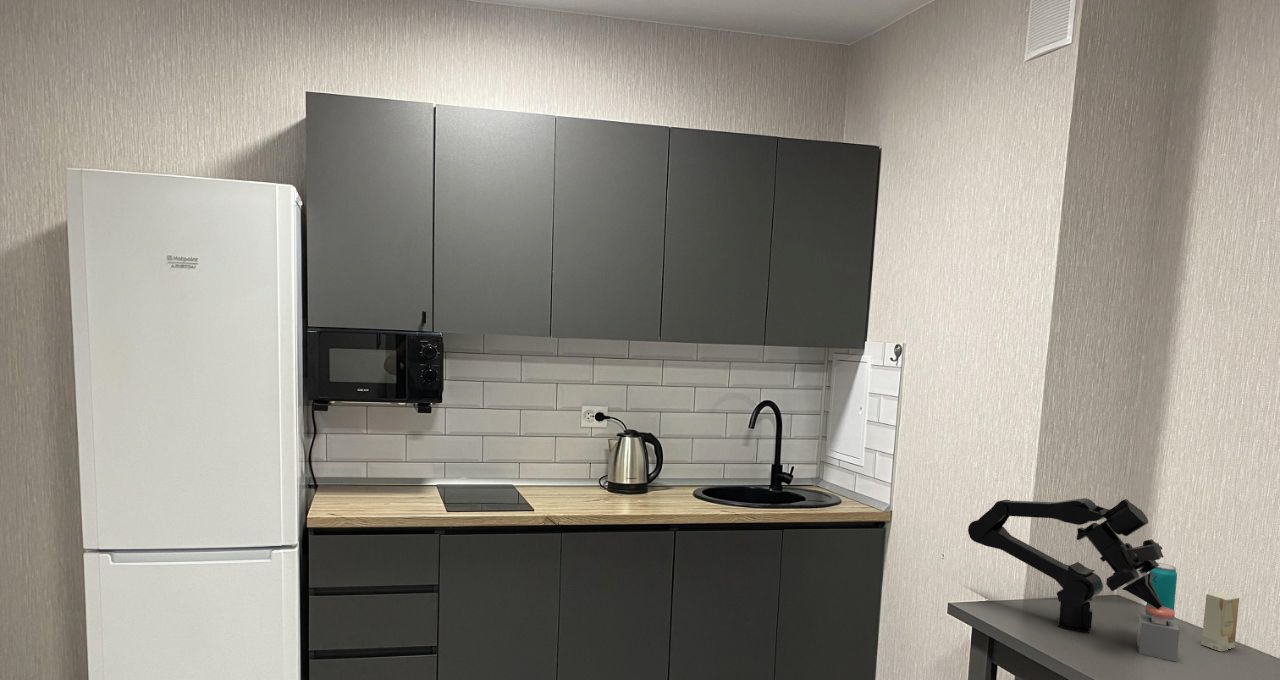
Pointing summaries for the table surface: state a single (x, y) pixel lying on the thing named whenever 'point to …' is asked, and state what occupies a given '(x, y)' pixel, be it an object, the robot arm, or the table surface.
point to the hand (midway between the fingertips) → (1160, 607)
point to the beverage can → (1165, 584)
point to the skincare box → (1220, 621)
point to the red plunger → (1159, 614)
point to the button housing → (1158, 638)
